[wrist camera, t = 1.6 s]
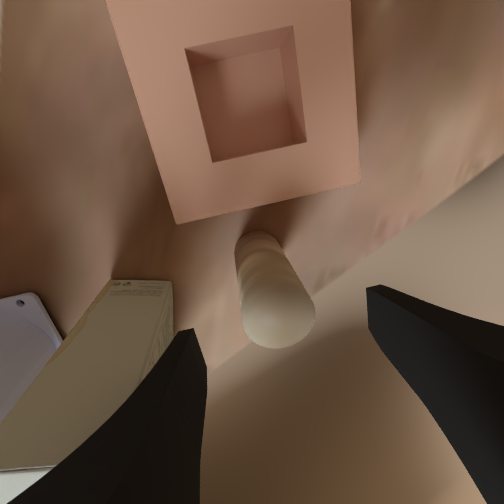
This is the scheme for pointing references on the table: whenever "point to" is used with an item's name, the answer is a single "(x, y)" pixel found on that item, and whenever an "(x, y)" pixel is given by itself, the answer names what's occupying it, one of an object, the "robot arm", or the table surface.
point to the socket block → (243, 98)
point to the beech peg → (270, 293)
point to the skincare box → (85, 380)
